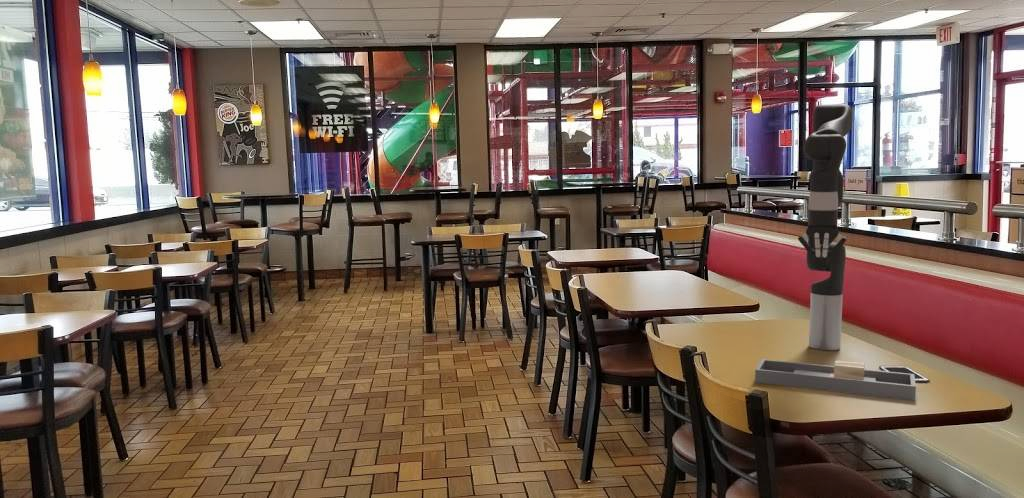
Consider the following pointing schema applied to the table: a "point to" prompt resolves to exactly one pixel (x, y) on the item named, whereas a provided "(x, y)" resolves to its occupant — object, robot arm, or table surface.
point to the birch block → (849, 370)
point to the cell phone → (904, 369)
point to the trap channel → (836, 379)
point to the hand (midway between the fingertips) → (821, 270)
